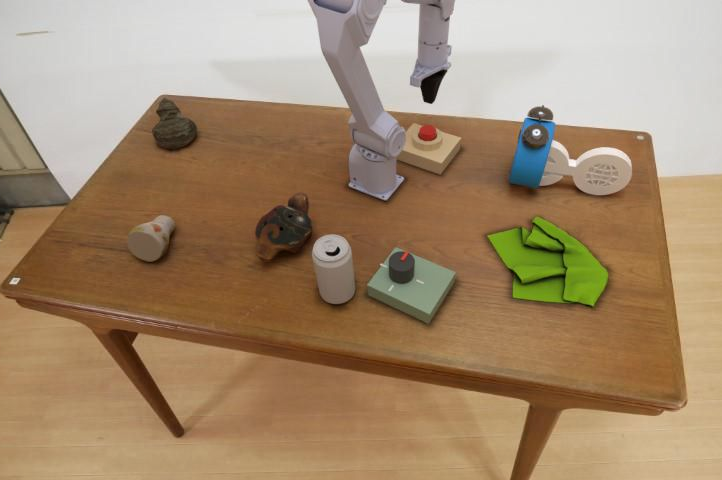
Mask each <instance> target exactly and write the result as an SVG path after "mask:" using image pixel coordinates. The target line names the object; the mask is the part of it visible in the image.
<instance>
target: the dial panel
mask: <svg viewBox="0 0 722 480" xmlns="http://www.w3.org/2000/svg"><path fill="white" fill-rule="evenodd" d="M399 251H404V252H406V251H407V250H404V249H402V248H399V247H398V246H395V247H394V248H393V249H392V251H391V252H390V253H389V255H388V256H387V257H386V259H385V260H384V262H383V263H379V266H380V267H379V269H378V270H377V271H376V272H375V273H374V275H373V276H372V277H371V279H370V280H369V282H367V284H366V290H367V292H366V293H367V296H368V297H370V298H372V299H375V300H377V301H379V302H380V303H383V304H385V305H388V306H390V307H392V308H394V309H396V310H398V311H401V312H402V313H404V314H406V315H409V316H411V317H412V318H414V319H417V320H419V321H421V322H423V323H426V324H427V325H429V324H430V323H431V321H432V319H433V318H434V316H435V315H436V313H437V311H438V310H439V308H440V307H441V305H442V304H443V302H444V300H445V299H446V297H447V295H448V294H449V293H450V290H451V289H452V287H453V286H454V284H455V280H456V273H457V272H456V271H453V270H452V269H449V268H447V267H444V266H442V265H440V264H437V263H435V262H433V261H430V260H428V259H425V258H424V257H421V256H418V255H416V254H413V253H412V252H409V253H410V254H411V255H412V256H413V257H414V259H415V269H414V277H413V279H412V280H411V281H410V282H408V283H405V284H399V283H395V282H394V281H392V280H391V279H390V277H389V258H390V256H391V255H392V254H394V253H396V252H399Z"/></svg>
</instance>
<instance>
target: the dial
mask: <svg viewBox="0 0 722 480" xmlns="http://www.w3.org/2000/svg"><path fill="white" fill-rule="evenodd" d="M404 251H406V252H404ZM404 251H399V252H396V253H394V254H392V255H391V256H390V258H389V277H390V279H391V280H392V281H394V282H395V283H399V284H405V283H408V282H410V281H411V280H412V279H413V277H414V269H415V259H414V257H413V256H412V255H411V254H412V253H411V252H409V251H408V250H404ZM410 253H411V254H410Z"/></svg>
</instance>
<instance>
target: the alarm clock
mask: <svg viewBox="0 0 722 480" xmlns="http://www.w3.org/2000/svg"><path fill="white" fill-rule="evenodd" d="M554 117H555V116H554V113H553V111H552V110H551V109H550V108H549V107H546V106H545V105H544V104H542V105H541V106H539V105H537V106H535V107H532V108H531V109H529V111H528V112H527V116H526V117H524V119H523V122H522V127H521V128H520V130H519V135H518V137H517V145H516V149H515V154H514V156H513V157H514V158H513V161H512V165H511V170H510V174H509V178H508V183H509V184H511V185H512V184H513V185H517V186H522V187H527V188H531V192H533V191H534V189H537V188H539V187H540V186H539V185H540V182H541V179H542V176H543V173H544V169H545V166H546V163H547V159H548V155H549V152H550V148H551V144H552V140H554V135H555V131H556V122H555V121H553V120H554Z"/></svg>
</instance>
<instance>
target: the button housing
mask: <svg viewBox="0 0 722 480" xmlns="http://www.w3.org/2000/svg"><path fill="white" fill-rule="evenodd" d="M422 126H423V125H422V124H419V123H415V122H413V123H412V124H411V125H410V126H409V128H407V130H405V132H406V142H405V145H404V148H403V150H402V151H401V153H400V154H399V155H398V156H396V161H400V162H403V163H406V164H408V165H411V166H413V167H414V166H415V167H416V168H420V169H423V170H425V171H428V172H431V173H434V174H437V175H442V174H443V172H444V171H445V170H446V168H447V167H448V165H449V164H451V162H452V161H453V160H454V158H455V157H456V155H457V154H458V153H459V152H460V150H461V146H462V145H461V144H462V137H460V136H457V135H454V134H450V133H447V132H444V131H441V130H440V129H439V128H437V127H435V128H436V138H435V139H434V140H432V141H423V140H421V139H420V138H419V130H420V128H421V127H422Z"/></svg>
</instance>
